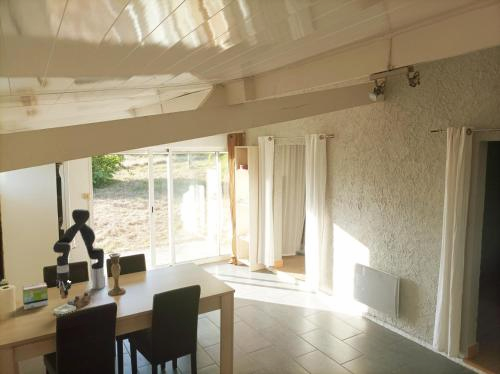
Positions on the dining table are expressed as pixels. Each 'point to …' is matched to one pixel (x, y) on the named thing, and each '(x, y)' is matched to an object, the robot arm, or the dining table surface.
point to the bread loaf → (63, 292)
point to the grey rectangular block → (71, 302)
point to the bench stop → (82, 300)
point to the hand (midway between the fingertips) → (64, 294)
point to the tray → (64, 309)
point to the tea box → (35, 295)
